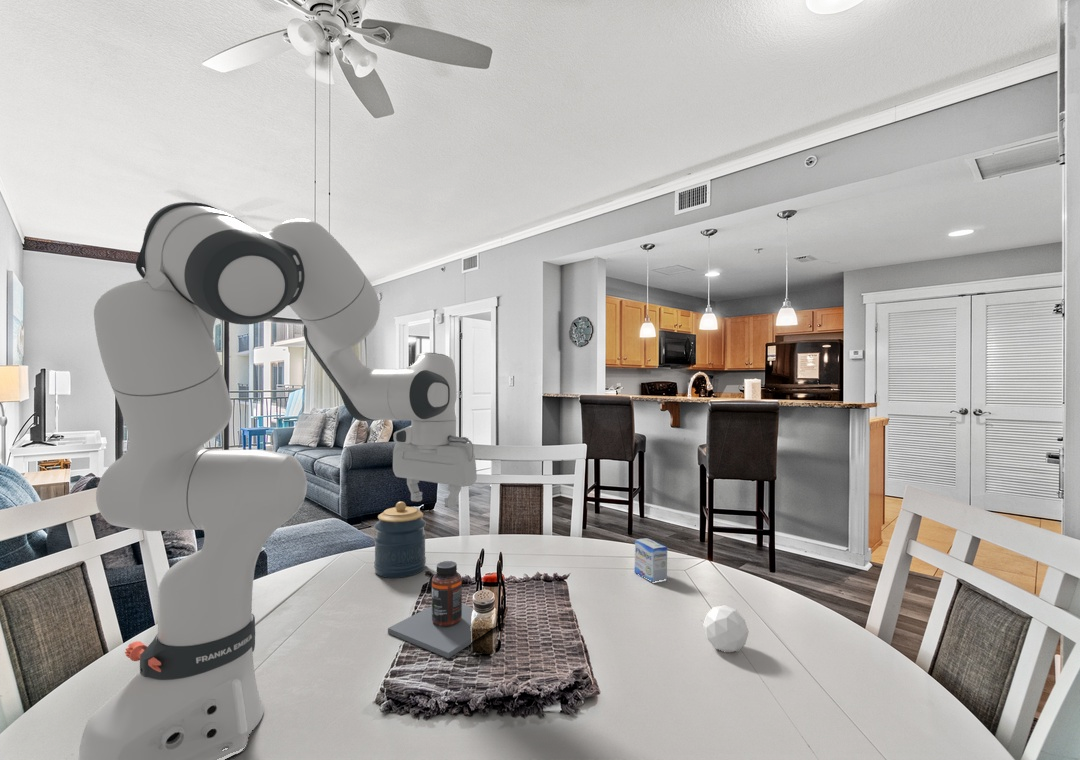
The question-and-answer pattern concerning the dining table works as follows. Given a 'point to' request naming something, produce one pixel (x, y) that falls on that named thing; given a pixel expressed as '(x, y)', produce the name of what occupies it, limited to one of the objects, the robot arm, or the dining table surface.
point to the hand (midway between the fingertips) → (433, 504)
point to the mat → (435, 632)
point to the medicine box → (650, 559)
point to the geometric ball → (725, 628)
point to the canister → (400, 542)
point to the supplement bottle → (446, 594)
